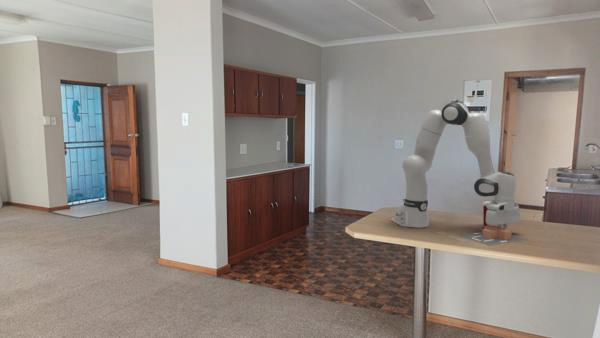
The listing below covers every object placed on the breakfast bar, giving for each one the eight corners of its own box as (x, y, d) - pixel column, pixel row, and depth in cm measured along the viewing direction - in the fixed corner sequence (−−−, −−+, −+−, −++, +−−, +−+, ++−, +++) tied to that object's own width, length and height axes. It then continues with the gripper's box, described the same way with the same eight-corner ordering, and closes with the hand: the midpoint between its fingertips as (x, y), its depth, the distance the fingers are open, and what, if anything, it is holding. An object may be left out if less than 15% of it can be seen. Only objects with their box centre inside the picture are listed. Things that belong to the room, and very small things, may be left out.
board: (458, 237, 200) (458, 234, 199) (494, 231, 210) (494, 229, 210) (489, 247, 183) (489, 245, 183) (526, 241, 194) (527, 238, 194)
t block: (475, 235, 200) (475, 227, 199) (489, 232, 204) (490, 225, 204) (496, 241, 189) (496, 233, 188) (511, 239, 193) (511, 231, 193)
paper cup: (499, 230, 212) (500, 204, 210) (483, 229, 214) (484, 203, 212) (495, 226, 220) (496, 201, 218) (479, 226, 221) (481, 200, 220)
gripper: (512, 201, 205) (511, 228, 207) (484, 205, 196) (482, 233, 198) (524, 203, 199) (522, 231, 201) (495, 207, 191) (493, 236, 192)
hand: (502, 232), depth 199 cm, fingers closed
